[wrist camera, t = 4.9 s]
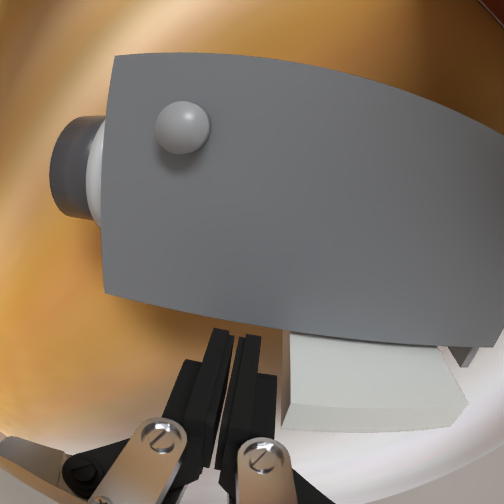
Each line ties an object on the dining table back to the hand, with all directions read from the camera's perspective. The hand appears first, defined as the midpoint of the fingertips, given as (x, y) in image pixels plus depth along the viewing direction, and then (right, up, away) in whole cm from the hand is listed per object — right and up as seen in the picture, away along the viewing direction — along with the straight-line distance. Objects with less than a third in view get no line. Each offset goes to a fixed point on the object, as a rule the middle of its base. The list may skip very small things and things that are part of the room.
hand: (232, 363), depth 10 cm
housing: (+3, +6, +5) cm, 9 cm away
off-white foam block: (+6, +1, +6) cm, 8 cm away
